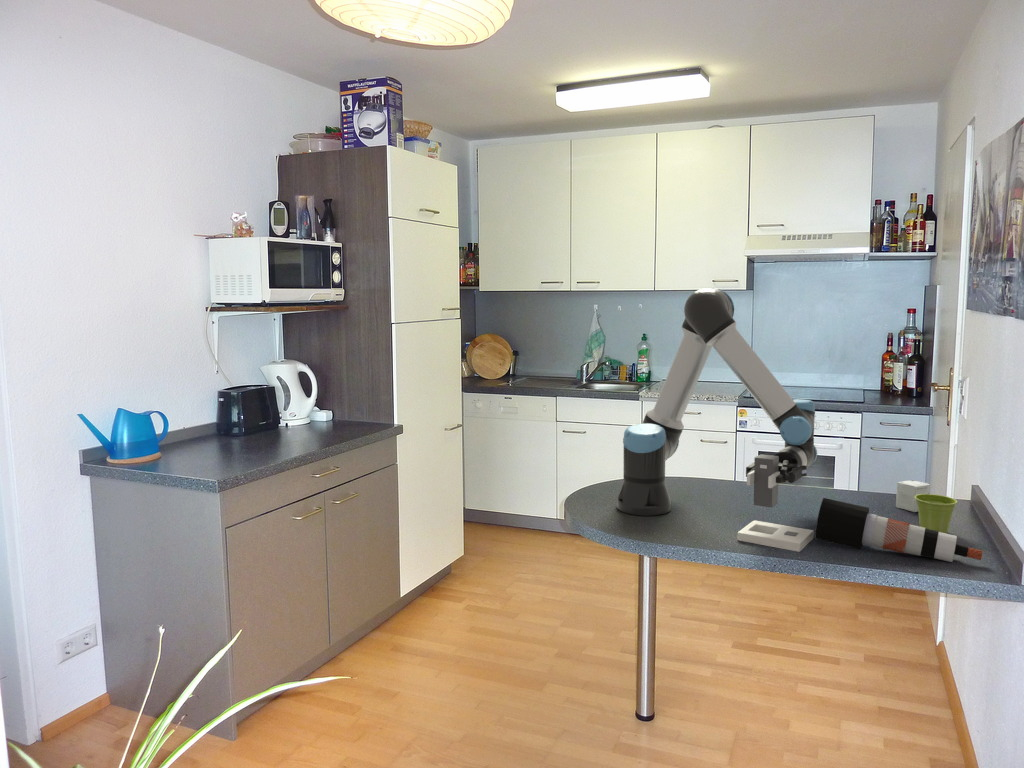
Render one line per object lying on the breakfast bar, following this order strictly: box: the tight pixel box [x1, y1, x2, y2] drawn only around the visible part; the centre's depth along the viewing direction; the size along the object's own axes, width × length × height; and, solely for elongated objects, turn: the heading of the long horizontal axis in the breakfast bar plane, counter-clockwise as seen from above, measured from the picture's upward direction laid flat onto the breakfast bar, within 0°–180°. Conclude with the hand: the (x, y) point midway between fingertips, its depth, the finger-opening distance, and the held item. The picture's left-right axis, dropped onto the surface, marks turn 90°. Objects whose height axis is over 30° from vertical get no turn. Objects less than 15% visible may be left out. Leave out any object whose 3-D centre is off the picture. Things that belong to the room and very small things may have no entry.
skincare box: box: [895, 479, 931, 513], centre depth 213 cm, size 6×6×7 cm
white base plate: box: [736, 519, 815, 553], centre depth 189 cm, size 15×12×2 cm
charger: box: [753, 454, 779, 509], centre depth 189 cm, size 4×5×12 cm
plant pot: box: [915, 493, 958, 534], centre depth 193 cm, size 9×9×9 cm
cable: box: [815, 497, 983, 563], centre depth 178 cm, size 10×34×10 cm, turn 60°
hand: (759, 481), depth 185 cm, fingers closed on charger, 4 cm apart
